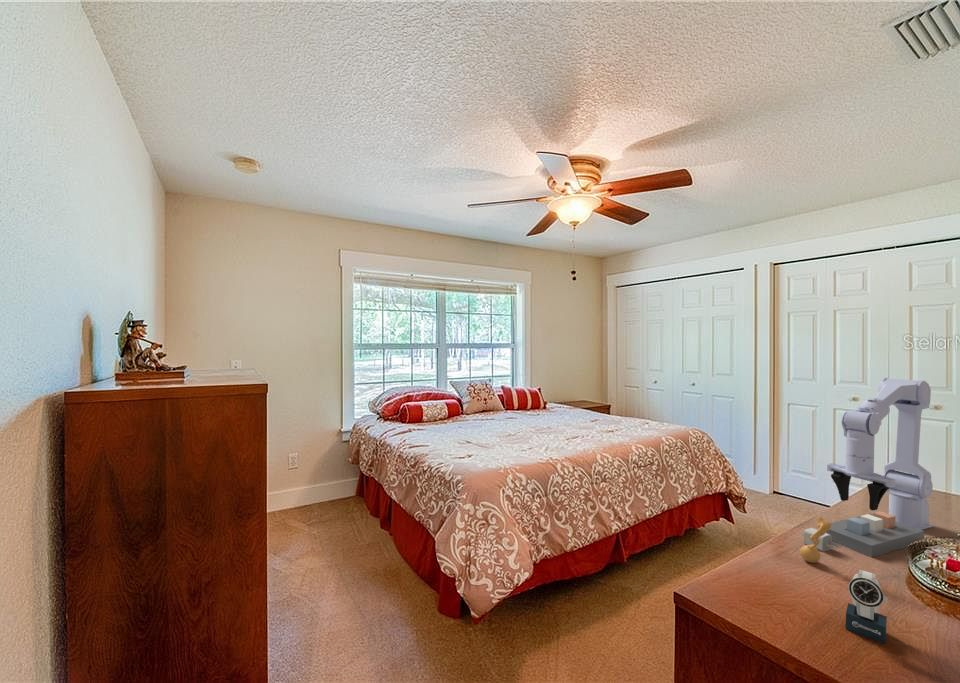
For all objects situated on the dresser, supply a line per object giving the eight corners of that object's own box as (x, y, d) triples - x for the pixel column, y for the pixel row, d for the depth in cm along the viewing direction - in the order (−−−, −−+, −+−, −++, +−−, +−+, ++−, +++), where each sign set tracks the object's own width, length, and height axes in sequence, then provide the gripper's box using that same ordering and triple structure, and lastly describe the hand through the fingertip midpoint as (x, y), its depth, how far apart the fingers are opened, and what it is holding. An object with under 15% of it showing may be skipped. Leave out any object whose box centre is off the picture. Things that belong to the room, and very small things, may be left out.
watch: (844, 633, 79) (845, 576, 79) (848, 614, 85) (849, 560, 85) (885, 650, 75) (887, 589, 75) (887, 628, 81) (888, 572, 81)
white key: (867, 526, 119) (867, 514, 119) (882, 531, 116) (882, 519, 116) (860, 528, 118) (860, 515, 118) (875, 533, 114) (875, 520, 114)
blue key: (854, 529, 117) (854, 517, 117) (869, 535, 114) (869, 522, 114) (846, 531, 116) (847, 519, 116) (861, 537, 112) (861, 524, 112)
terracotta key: (880, 523, 121) (880, 511, 121) (895, 528, 118) (895, 515, 118) (873, 525, 120) (873, 512, 120) (888, 530, 117) (888, 517, 117)
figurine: (807, 553, 109) (808, 507, 108) (836, 564, 103) (837, 516, 103) (793, 562, 104) (794, 515, 104) (823, 574, 99) (824, 524, 99)
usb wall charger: (812, 541, 115) (813, 527, 115) (842, 553, 109) (843, 538, 109) (803, 544, 113) (804, 529, 113) (833, 557, 107) (834, 541, 107)
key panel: (870, 523, 127) (871, 513, 126) (924, 541, 115) (924, 530, 115) (819, 536, 118) (819, 525, 118) (871, 557, 107) (871, 545, 107)
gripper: (820, 449, 120) (819, 496, 120) (884, 464, 106) (883, 517, 106) (836, 447, 122) (835, 493, 122) (900, 461, 109) (899, 513, 109)
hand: (858, 504), depth 114 cm, fingers open, 6 cm apart
